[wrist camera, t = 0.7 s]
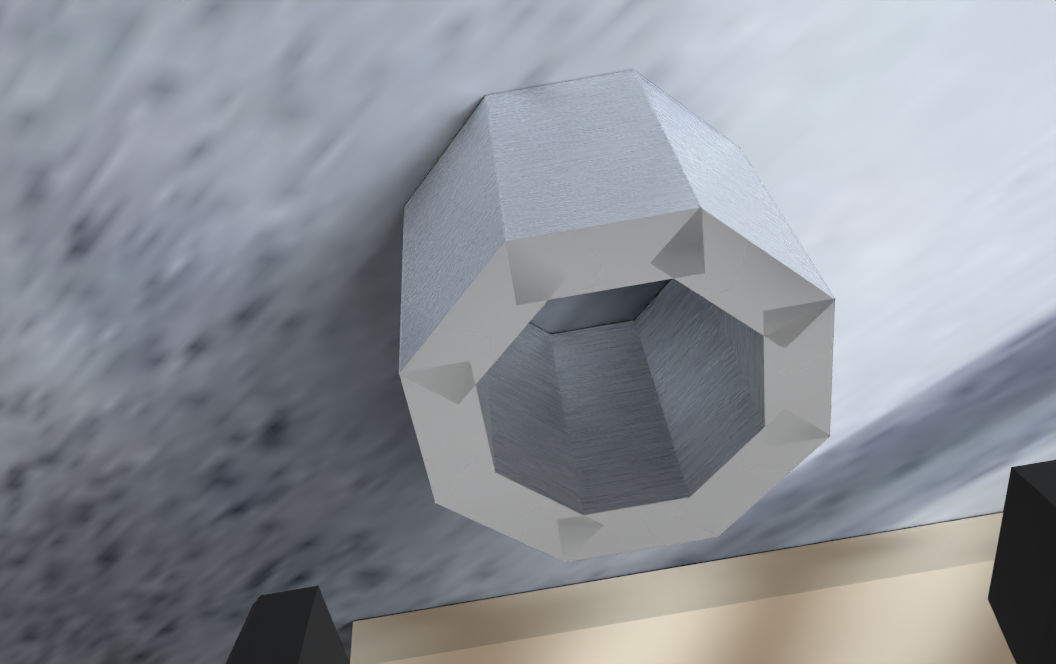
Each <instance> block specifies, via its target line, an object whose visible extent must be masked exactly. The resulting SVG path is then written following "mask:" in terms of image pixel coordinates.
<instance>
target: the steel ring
mask: <svg viewBox="0 0 1056 664" xmlns="http://www.w3.org/2000/svg"><path fill="white" fill-rule="evenodd" d="M668 279H672V280H671V281H670V282H669V283H668V284H667V285H666V286H665V288H664V289H663V290H662V291H661V292H660V293H659V294H658V295H657V296H656V297H655V298H654V299H653V301H652V302H651V303H650V304H649V305H648V306H647V307H646V308H645V309H644V310H643V311H642V313H641V314H640V315H639V316H638V317H637V318H636V319H635V320H632V321H627V322H621V323H615V324H609V325H603V326H597V327H591V328H586V329H580V330H574V331H568V332H562V333H556V334H551V335H550V334H548V333H546V332H544V331H543V330H541V329H539V328H537V327H536V326H534V325H532V324H530V323H529V322H530V321H531V320H532V318H533V317H534V316H535V315H536V314H537V313H538V311H539V310H540V309H541V308H542V307H543V306H544V304H545V303H546V302H547V301H548V300H551V299H557V298H563V297H569V296H574V295H580V294H586V293H592V292H598V291H604V290H609V289H615V288H621V287H627V286H633V285H638V284H644V283H650V282H656V281H662V280H668ZM834 311H835V298H834V296H833V295H832V293H831V291H830V290H829V288H828V287H827V285H826V283H825V282H824V280H823V279H822V277H821V275H820V274H819V272H818V271H817V269H816V267H815V266H814V264H813V263H812V261H811V260H810V258H809V256H808V255H807V253H806V252H805V250H804V248H803V247H802V245H801V244H800V242H799V240H798V239H797V237H796V236H795V234H794V232H793V231H792V229H791V228H790V226H789V224H788V223H787V221H786V220H785V218H784V216H783V215H782V213H781V212H780V210H779V208H778V207H777V205H776V204H775V202H774V200H773V199H772V197H771V196H770V194H769V192H768V191H767V189H766V188H765V186H764V184H763V183H762V181H761V180H760V178H759V176H758V175H757V173H756V172H755V170H754V169H753V167H752V165H751V164H750V162H749V161H748V159H747V157H746V156H745V154H744V153H743V151H742V149H741V148H739V147H738V146H737V145H735V144H734V143H732V142H731V141H730V140H728V139H727V138H726V137H724V136H723V135H722V134H720V133H719V132H717V131H716V130H715V129H713V128H712V127H711V126H709V125H708V124H706V123H705V122H704V121H702V120H701V119H700V118H698V117H697V116H696V115H694V114H693V113H691V112H690V111H689V110H687V109H686V108H685V107H683V106H682V105H681V104H679V103H678V102H676V101H675V100H674V99H672V98H671V97H670V96H668V95H667V94H665V93H664V92H663V91H661V90H660V89H659V88H657V87H656V86H655V85H653V84H652V83H650V82H649V81H648V80H646V79H645V78H644V77H642V76H641V75H640V74H638V73H637V72H635V71H634V70H630V71H624V72H618V73H612V74H607V75H601V76H595V77H590V78H584V79H578V80H572V81H567V82H561V83H555V84H549V85H544V86H538V87H532V88H526V89H521V90H515V91H509V92H504V93H498V94H492V95H486V96H485V97H484V99H483V100H482V101H481V103H480V104H479V105H478V107H477V108H476V109H475V111H474V112H473V114H472V115H471V116H470V118H469V119H468V120H467V122H466V123H465V124H464V126H463V127H462V129H461V130H460V131H459V133H458V134H457V135H456V137H455V138H454V140H453V141H452V142H451V144H450V145H449V146H448V148H447V149H446V150H445V152H444V153H443V155H442V156H441V157H440V159H439V160H438V161H437V163H436V164H435V165H434V167H433V168H432V170H431V171H430V172H429V174H428V175H427V176H426V178H425V179H424V180H423V182H422V183H421V185H420V186H419V187H418V189H417V190H416V191H415V193H414V194H413V196H412V197H411V198H410V200H409V201H408V202H407V204H406V205H405V206H404V224H403V256H402V288H401V319H400V351H399V375H400V378H401V382H402V386H403V389H404V393H405V396H406V400H407V403H408V407H409V411H410V414H411V418H412V421H413V425H414V428H415V432H416V436H417V439H418V443H419V446H420V450H421V453H422V457H423V461H424V464H425V468H426V471H427V475H428V478H429V482H430V486H431V489H432V493H433V496H434V500H435V503H436V504H439V505H441V506H443V507H445V508H447V509H450V510H452V511H454V512H456V513H458V514H460V515H463V516H465V517H467V518H469V519H471V520H474V521H476V522H478V523H480V524H482V525H484V526H487V527H489V528H491V529H493V530H495V531H498V532H500V533H502V534H504V535H506V536H508V537H511V538H513V539H515V540H517V541H519V542H522V543H524V544H526V545H528V546H530V547H532V548H535V549H537V550H539V551H541V552H543V553H546V554H548V555H550V556H552V557H554V558H557V559H559V560H561V561H563V562H564V563H566V562H571V561H577V560H583V559H588V558H594V557H600V556H606V555H612V554H618V553H624V552H630V551H636V550H642V549H648V548H654V547H660V546H666V545H672V544H678V543H684V542H689V541H695V540H701V539H707V538H713V537H719V535H721V534H722V533H723V532H724V531H725V530H726V529H727V528H728V527H729V526H731V525H732V524H733V523H734V522H735V521H736V520H737V519H738V518H739V517H741V516H742V515H743V514H744V513H745V512H746V511H747V510H748V509H749V508H751V507H752V506H753V505H754V504H755V503H756V502H757V501H758V500H760V499H761V498H762V497H763V496H764V495H765V494H766V493H767V492H768V491H770V490H771V489H772V488H773V487H774V486H775V485H776V484H777V483H778V482H780V481H781V480H782V479H783V478H784V477H785V476H786V475H787V474H788V473H790V472H791V471H792V470H793V469H794V468H795V467H796V466H797V465H798V464H800V463H801V462H802V461H803V460H804V459H805V458H806V457H807V456H808V455H810V454H811V453H812V452H813V451H814V450H815V449H816V448H817V447H818V446H820V445H821V444H822V443H823V442H824V441H825V440H826V439H827V438H828V437H830V420H831V393H832V366H833V338H834Z"/></svg>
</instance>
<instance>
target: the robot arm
mask: <svg viewBox="0 0 1056 664" xmlns="http://www.w3.org/2000/svg"><path fill="white" fill-rule="evenodd" d="M988 601H989V603H990V606H991V608H992V610H993V612H994V615H995V617H996V619H997V622H998V624H999V626H1000V629H1001V631H1002V633H1003V635H1004V638H1005V640H1006V642H1007V645H1008V647H1009V649H1010V651H1011V653H1012V656H1013V658H1014V660H1015V662H1016V664H1056V460H1052V461H1046V462H1040V463H1034V464H1028V465H1023V466H1017V467H1011V472H1010V478H1009V483H1008V489H1007V494H1006V500H1005V505H1004V511H1003V517H1002V522H1001V528H1000V533H999V539H998V544H997V550H996V555H995V561H994V566H993V572H992V577H991V583H990V588H989V594H988ZM226 664H350V663H349V661H348V658H347V656H346V653H345V651H344V648H343V646H342V643H341V641H340V638H339V636H338V633H337V631H336V628H335V626H334V623H333V621H332V618H331V616H330V613H329V611H328V609H327V606H326V604H325V601H324V599H323V596H322V594H321V591H320V589H319V586H314V587H308V588H302V589H296V590H290V591H285V592H279V593H273V594H267V595H261V596H260V597H259V598H258V599H257V601H256V602H255V603H254V604H253V606H252V608H251V610H250V612H249V615H248V617H247V619H246V621H245V623H244V625H243V628H242V630H241V632H240V634H239V636H238V638H237V640H236V642H235V645H234V647H233V649H232V651H231V653H230V655H229V657H228V659H227V661H226Z"/></svg>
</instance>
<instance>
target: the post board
mask: <svg viewBox="0 0 1056 664" xmlns="http://www.w3.org/2000/svg"><path fill="white" fill-rule="evenodd" d="M1002 517H1003V513H997V514H991V515H985V516H979V517H973V518H967V519H961V520H955V521H949V522H943V523H937V524H931V525H925V526H919V527H913V528H908V529H902V530H896V531H890V532H884V533H878V534H872V535H866V536H860V537H854V538H848V539H842V540H836V541H830V542H824V543H818V544H812V545H806V546H800V547H794V548H789V549H783V550H777V551H771V552H765V553H759V554H753V555H747V556H741V557H735V558H729V559H723V560H717V561H711V562H705V563H699V564H693V565H687V566H681V567H675V568H670V569H664V570H658V571H652V572H646V573H640V574H634V575H628V576H622V577H616V578H610V579H604V580H598V581H592V582H586V583H580V584H574V585H568V586H562V587H556V588H551V589H545V590H539V591H533V592H527V593H521V594H515V595H509V596H503V597H497V598H491V599H485V600H479V601H473V602H467V603H461V604H455V605H449V606H443V607H437V608H432V609H426V610H420V611H414V612H408V613H402V614H396V615H390V616H384V617H378V618H372V619H366V620H360V621H354V622H353V630H352V644H351V658H350V664H1016V662H1015V660H1014V658H1013V656H1012V653H1011V651H1010V649H1009V647H1008V645H1007V642H1006V640H1005V638H1004V635H1003V633H1002V631H1001V629H1000V626H999V624H998V622H997V619H996V617H995V615H994V612H993V610H992V608H991V606H990V603H989V601H988V594H989V588H990V583H991V577H992V572H993V566H994V561H995V555H996V550H997V544H998V539H999V533H1000V528H1001V522H1002Z"/></svg>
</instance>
